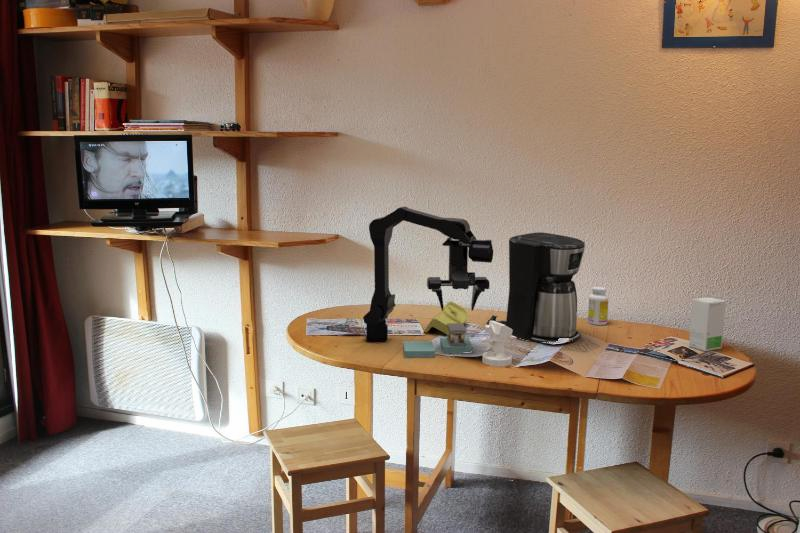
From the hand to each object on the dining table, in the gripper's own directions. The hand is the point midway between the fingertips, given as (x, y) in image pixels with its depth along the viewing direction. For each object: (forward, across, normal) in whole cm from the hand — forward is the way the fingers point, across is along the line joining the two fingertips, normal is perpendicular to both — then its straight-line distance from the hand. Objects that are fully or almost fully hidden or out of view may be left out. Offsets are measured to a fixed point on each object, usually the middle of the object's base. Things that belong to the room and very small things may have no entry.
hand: (457, 310), depth 209 cm
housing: (+10, 0, 0) cm, 10 cm away
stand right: (+12, 0, 0) cm, 12 cm away
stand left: (+12, -12, -4) cm, 18 cm away
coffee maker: (+13, +30, +18) cm, 37 cm away
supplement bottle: (+13, +54, +29) cm, 62 cm away
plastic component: (+13, 0, +23) cm, 26 cm away
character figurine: (+12, +11, -13) cm, 21 cm away
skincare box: (+13, +79, 0) cm, 80 cm away
